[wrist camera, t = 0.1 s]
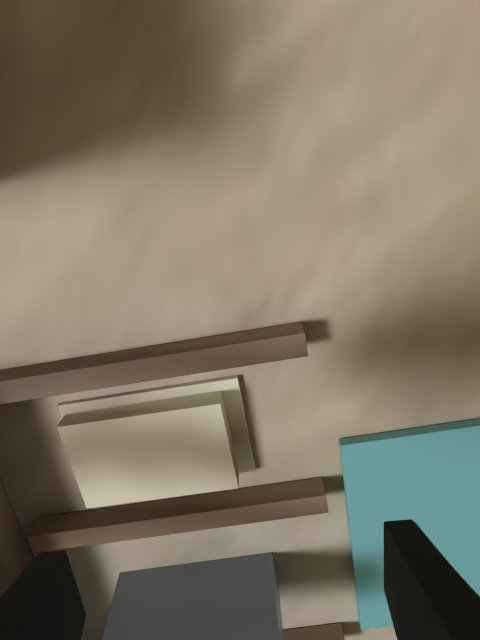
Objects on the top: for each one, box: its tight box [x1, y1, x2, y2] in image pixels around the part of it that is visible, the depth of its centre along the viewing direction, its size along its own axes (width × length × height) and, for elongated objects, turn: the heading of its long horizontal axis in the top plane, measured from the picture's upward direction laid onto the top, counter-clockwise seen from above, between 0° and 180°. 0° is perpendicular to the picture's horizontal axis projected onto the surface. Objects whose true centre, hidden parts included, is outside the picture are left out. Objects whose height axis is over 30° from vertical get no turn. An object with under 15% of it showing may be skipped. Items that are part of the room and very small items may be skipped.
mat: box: [339, 419, 480, 630], centre depth 23 cm, size 12×12×1 cm
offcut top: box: [57, 391, 239, 508], centre depth 20 cm, size 4×7×1 cm, turn 100°
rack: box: [0, 322, 344, 640], centre depth 21 cm, size 19×16×4 cm
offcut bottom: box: [57, 375, 256, 475], centre depth 21 cm, size 5×8×1 cm, turn 100°
